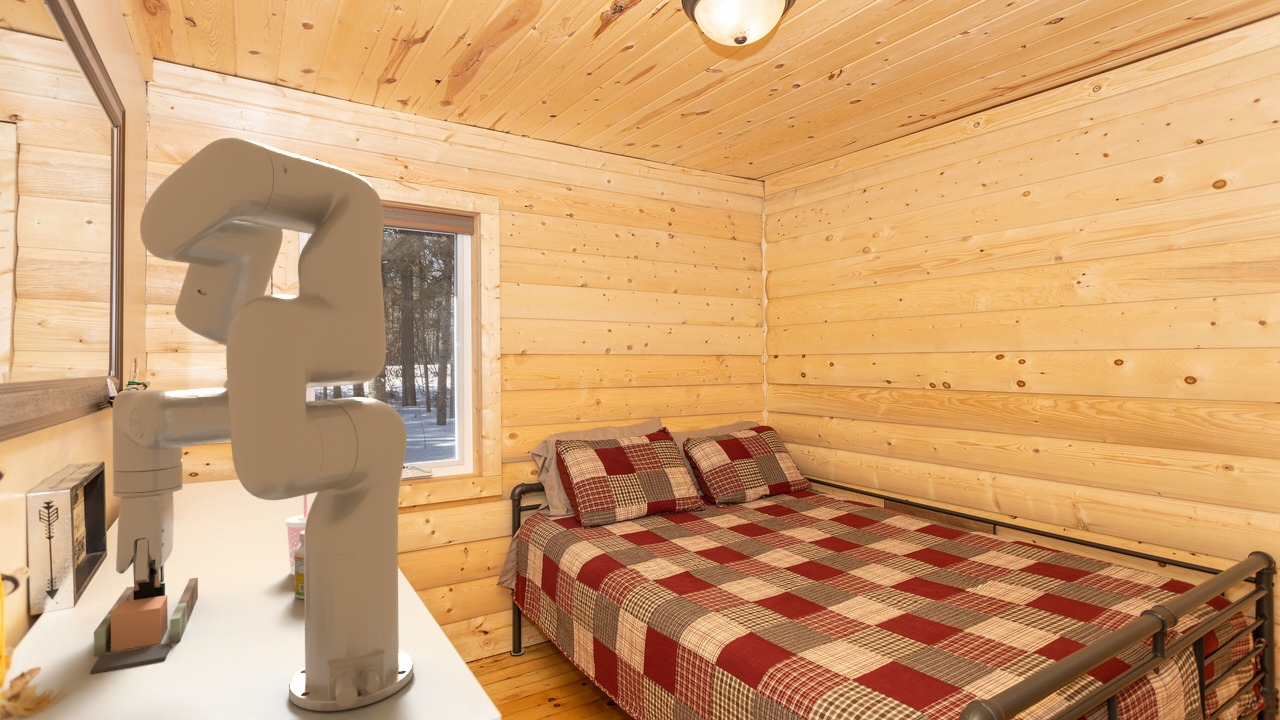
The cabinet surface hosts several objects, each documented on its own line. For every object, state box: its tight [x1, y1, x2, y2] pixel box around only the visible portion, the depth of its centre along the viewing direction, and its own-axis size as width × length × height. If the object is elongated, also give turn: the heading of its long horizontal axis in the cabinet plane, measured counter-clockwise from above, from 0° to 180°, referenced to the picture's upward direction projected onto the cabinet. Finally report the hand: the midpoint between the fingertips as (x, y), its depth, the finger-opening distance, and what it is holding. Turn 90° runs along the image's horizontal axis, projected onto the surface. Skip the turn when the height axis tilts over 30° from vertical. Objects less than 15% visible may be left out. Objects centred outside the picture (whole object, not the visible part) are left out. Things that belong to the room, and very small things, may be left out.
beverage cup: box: [284, 494, 308, 576], centre depth 111 cm, size 6×6×14 cm
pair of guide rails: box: [93, 577, 199, 657], centre depth 89 cm, size 18×9×3 cm, turn 28°
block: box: [110, 594, 169, 653], centre depth 84 cm, size 5×5×4 cm
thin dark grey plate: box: [89, 642, 172, 675], centre depth 78 cm, size 4×7×1 cm, turn 118°
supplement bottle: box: [294, 530, 305, 600], centre depth 100 cm, size 5×5×10 cm
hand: (149, 615), depth 88 cm, fingers closed
